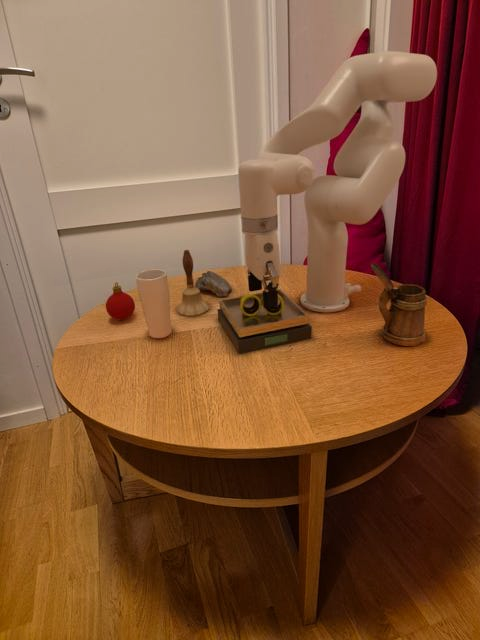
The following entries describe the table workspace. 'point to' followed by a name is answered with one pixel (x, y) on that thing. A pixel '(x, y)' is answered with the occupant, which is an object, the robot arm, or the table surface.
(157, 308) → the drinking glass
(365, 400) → the table surface
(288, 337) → the scale
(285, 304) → the scale pan
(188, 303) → the hand bell
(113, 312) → the christmas ornament
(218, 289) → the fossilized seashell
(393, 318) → the wooden mug
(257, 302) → the opera glasses
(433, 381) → the table surface
